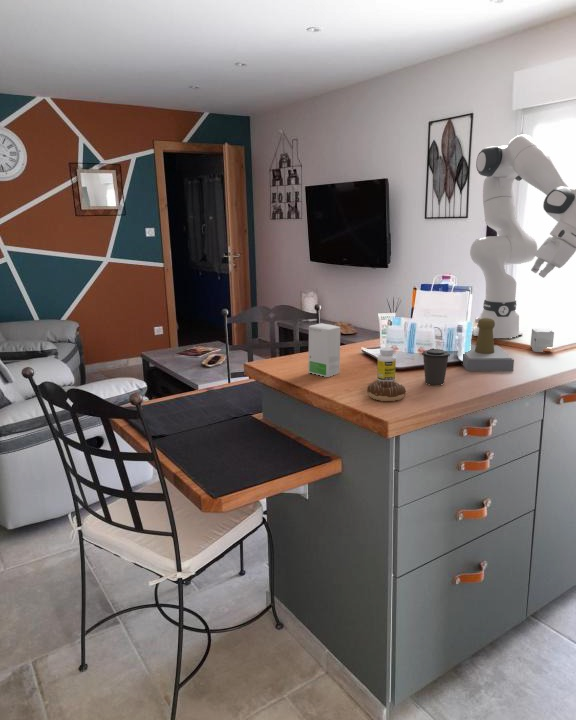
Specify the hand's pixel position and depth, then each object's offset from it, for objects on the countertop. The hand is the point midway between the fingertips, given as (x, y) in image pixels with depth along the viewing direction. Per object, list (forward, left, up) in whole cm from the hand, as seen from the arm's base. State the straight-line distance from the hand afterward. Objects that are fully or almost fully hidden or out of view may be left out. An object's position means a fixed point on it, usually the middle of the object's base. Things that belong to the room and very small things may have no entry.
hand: (537, 274), depth 180 cm
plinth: (+4, -16, -29) cm, 33 cm away
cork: (+4, -16, -25) cm, 30 cm away
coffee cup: (+26, -35, -29) cm, 52 cm away
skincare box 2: (-14, +8, -29) cm, 33 cm away
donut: (+39, -50, -29) cm, 70 cm away
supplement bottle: (+23, -49, -29) cm, 61 cm away
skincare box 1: (+16, -68, -29) cm, 75 cm away
